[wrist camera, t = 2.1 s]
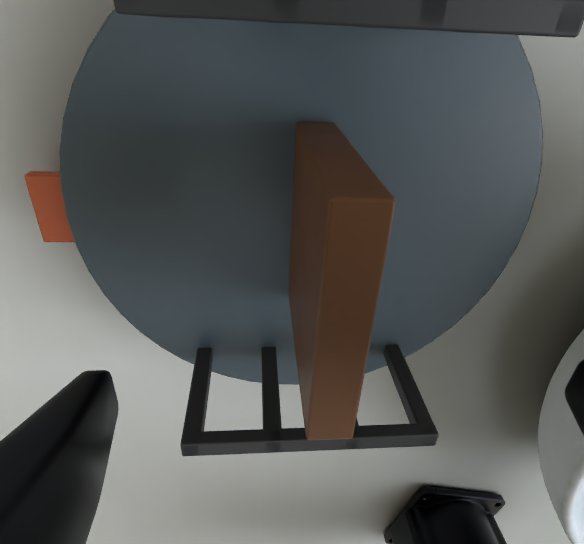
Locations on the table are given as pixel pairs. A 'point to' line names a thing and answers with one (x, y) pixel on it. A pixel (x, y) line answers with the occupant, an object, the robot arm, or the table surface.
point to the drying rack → (301, 190)
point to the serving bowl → (563, 447)
